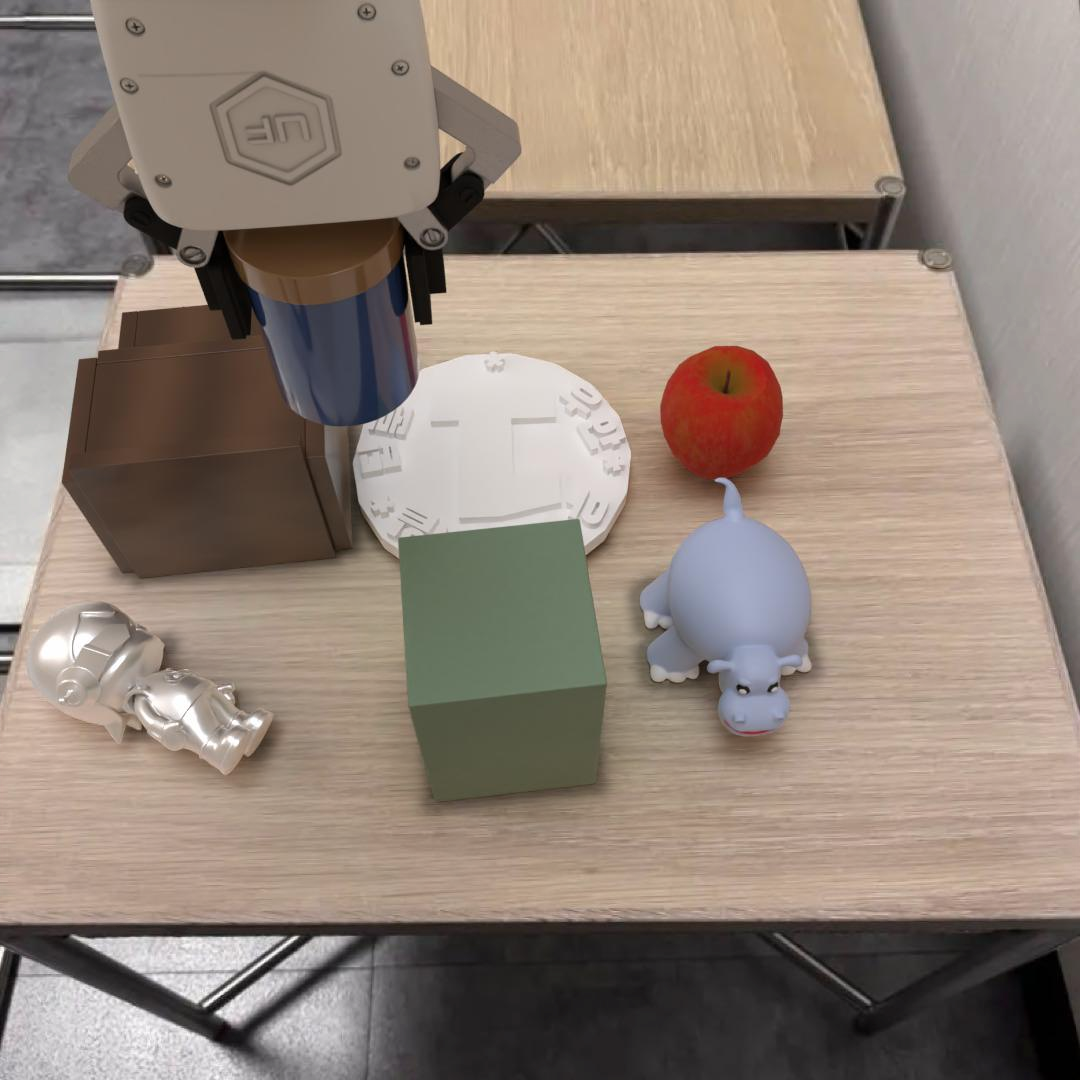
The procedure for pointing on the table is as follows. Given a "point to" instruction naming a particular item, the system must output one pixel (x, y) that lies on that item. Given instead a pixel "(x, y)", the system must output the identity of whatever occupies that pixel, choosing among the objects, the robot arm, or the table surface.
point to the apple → (722, 411)
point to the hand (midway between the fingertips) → (333, 305)
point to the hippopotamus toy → (733, 616)
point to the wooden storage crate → (200, 452)
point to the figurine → (137, 686)
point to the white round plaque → (493, 452)
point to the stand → (502, 658)
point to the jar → (332, 315)
